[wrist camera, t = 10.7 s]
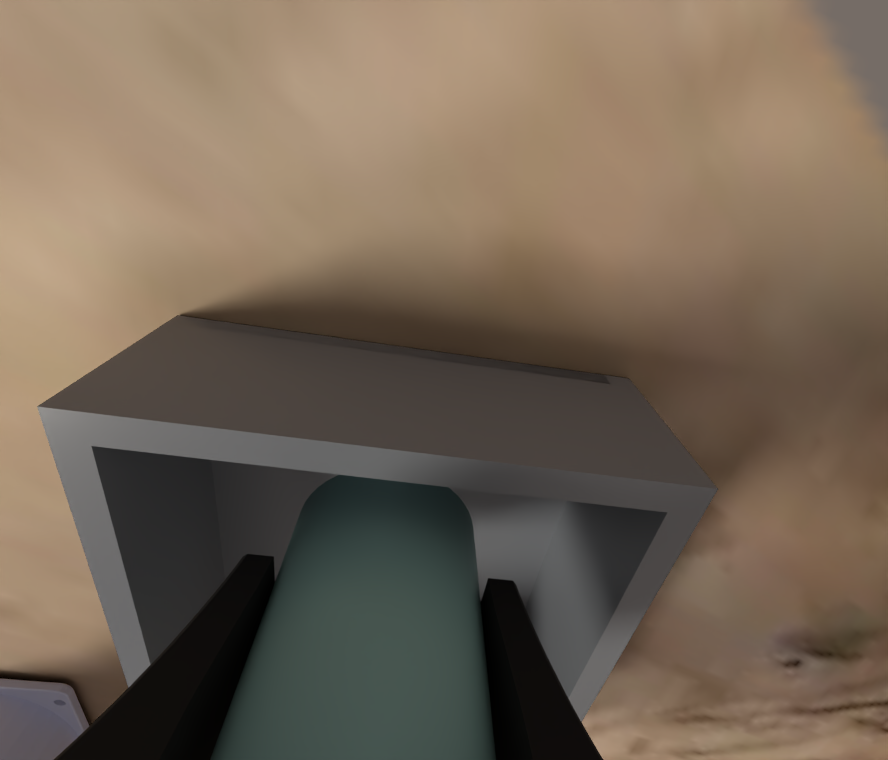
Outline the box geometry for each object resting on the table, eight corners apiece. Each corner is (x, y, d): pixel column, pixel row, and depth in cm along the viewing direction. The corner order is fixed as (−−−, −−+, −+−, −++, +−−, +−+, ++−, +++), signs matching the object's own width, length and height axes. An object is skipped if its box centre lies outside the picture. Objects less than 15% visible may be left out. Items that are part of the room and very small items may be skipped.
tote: (505, 687, 22) (521, 824, 18) (224, 664, 21) (166, 804, 16) (628, 378, 14) (717, 489, 9) (177, 315, 13) (37, 406, 8)
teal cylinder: (498, 489, 12) (565, 859, 6) (444, 603, 14) (451, 957, 8) (312, 447, 11) (163, 823, 5) (287, 575, 13) (161, 942, 7)
